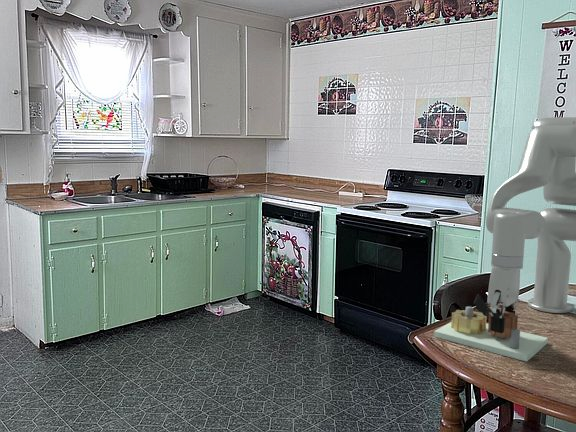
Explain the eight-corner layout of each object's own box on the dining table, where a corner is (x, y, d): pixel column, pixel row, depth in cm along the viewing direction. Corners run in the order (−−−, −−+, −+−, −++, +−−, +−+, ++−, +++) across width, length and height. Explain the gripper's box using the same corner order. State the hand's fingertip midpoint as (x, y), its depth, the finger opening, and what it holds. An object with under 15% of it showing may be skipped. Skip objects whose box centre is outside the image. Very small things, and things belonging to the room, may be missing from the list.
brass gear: (459, 321, 152) (460, 307, 152) (490, 328, 147) (491, 314, 146) (446, 329, 146) (447, 314, 145) (477, 337, 140) (478, 322, 140)
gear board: (459, 321, 156) (461, 296, 155) (547, 343, 141) (549, 315, 140) (433, 336, 145) (435, 309, 144) (526, 361, 129) (529, 331, 128)
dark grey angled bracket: (514, 320, 154) (492, 290, 156) (492, 333, 156) (471, 304, 157) (509, 313, 165) (489, 286, 167) (489, 326, 167) (469, 298, 168)
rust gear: (494, 326, 145) (495, 308, 144) (519, 332, 141) (521, 314, 140) (484, 333, 140) (485, 314, 139) (510, 339, 136) (511, 321, 135)
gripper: (504, 253, 146) (500, 316, 149) (478, 264, 134) (474, 333, 136) (533, 257, 141) (528, 323, 144) (509, 269, 129) (504, 340, 131)
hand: (502, 327), depth 140 cm, fingers closed on rust gear, 6 cm apart
